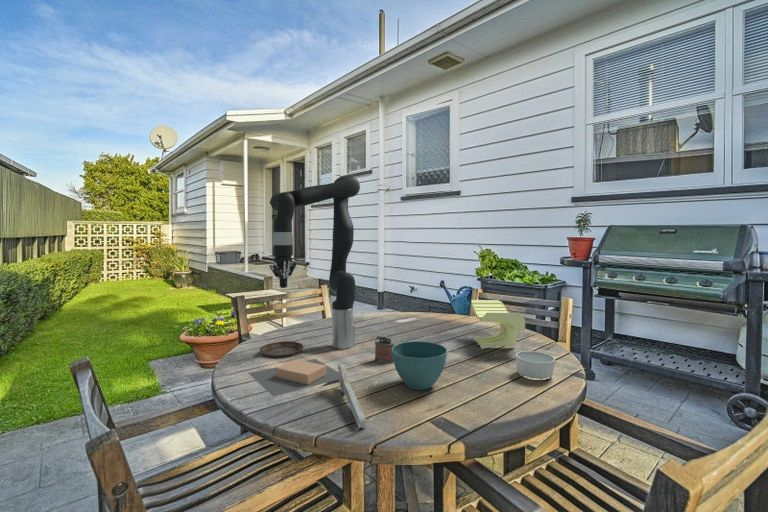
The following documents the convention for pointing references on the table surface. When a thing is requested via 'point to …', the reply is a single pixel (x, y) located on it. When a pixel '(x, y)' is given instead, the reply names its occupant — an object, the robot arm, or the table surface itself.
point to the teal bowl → (419, 363)
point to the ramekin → (535, 364)
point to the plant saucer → (281, 345)
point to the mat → (285, 386)
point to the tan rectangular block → (301, 371)
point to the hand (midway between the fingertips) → (283, 287)
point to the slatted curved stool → (498, 314)
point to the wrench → (351, 397)
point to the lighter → (384, 349)
